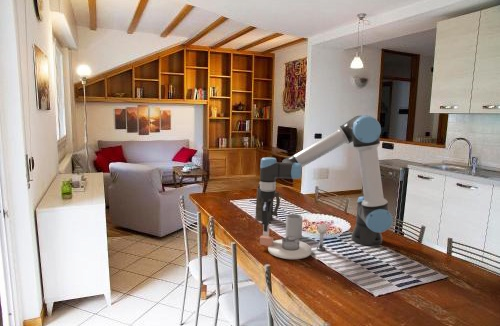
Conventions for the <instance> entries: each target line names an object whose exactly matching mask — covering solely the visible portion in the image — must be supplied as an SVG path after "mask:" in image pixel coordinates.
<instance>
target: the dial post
mask: <svg viewBox="0 0 500 326" xmlns="http://www.w3.org/2000/svg"><path fill="white" fill-rule="evenodd" d="M316 228H317V232H318V233H319V245H318V246H317V247H316V250H317V252H318V251H319V252H325V251H326V247H325V246H324V235H325V234H326V232H327V231H328V227H327V225H325V224H323V223H320V224H319V225H318V226H317V227H316Z"/></svg>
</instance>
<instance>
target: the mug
mask: <svg viewBox="0 0 500 326" xmlns="http://www.w3.org/2000/svg"><path fill="white" fill-rule="evenodd" d="M284 236H285V237H287V236H294V237H295V238H297V239H299V240H300V239H302V236H303V216H302V215H301V214H296V213H289V214H287V215H286V217H285V235H284Z"/></svg>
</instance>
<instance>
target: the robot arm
mask: <svg viewBox="0 0 500 326" xmlns="http://www.w3.org/2000/svg"><path fill="white" fill-rule="evenodd" d="M381 133H382V127H381V124H380V122H379V120H377V119H376V118H374V117H373V116H371V115H357V116H353V118H350V119H349V120H348V121H347V122H345V123H343V124H342V125H339V126H338V128H337V130H336V131H333V132H332V133H330V134H329V135H327V136H324V137H323V138H321V139H320V140H318V141H316V142H315V143H314V142H313V144H310V145H309V146H307V147H306V148H304V149H302V150H299V152H296V153H295V154H293V155H291V156H289V157H287V158H284V159H283V160H281V161H282V162H278V161H277V158H276V157H270V156H269V157H268V156H267V157H262V158H260V165H259V167H260V169H259V182H258V184H259V186H260V189H261V190H260V194H259V197H260V198H262V199H264V200H263V202H262V206H263V207H262V221H261V225H262V236H269V237H270V224H271V223H272V222H271V221H270V217H271V205H272V201H271V199H273V200H274V199H276V197H275V193H276V190H277V189H276V186H277V185H276V184H277V182H276V181H277V180H276V179H291V180H299V179H301V178H302V174H303V173H302V169H303V167H305V166H307V165H309V164H311V163H312V162H314V161H316V160H317V159H320V158H321V157H323V156H325V155H326V154H329V153H330V152H332V151H334V150H336V149H337V148H339V147H341V146H343V145H345V144H346V145H347V144H350V143H352V145H353V148H354V149H355V150H356V151H357V154H358V155H357V157H358V163H359V170H360V177H361V185H362V192H363V193H362V194H363V196H359V197H358V198H357V202H356V205H357V206H356V219H355V226H354V227H353V230H352V232H351V237H350V238H351V241H353V242H354V243H356V244H360V245H362V246H363V245H364V246H369V247H370V246H372V247H373V246H375V247H376V246H379V245H382V244H383V236H382V233H384V232H386V231H388V230H389V229H390V228H391V227H392V225H393V221H394V220H393V218H394V217H393V216H392V213H391V212H390V211H389V209H390V208H389V202H388V199H386V198H384V192H383V191H384V190H383V182H382V176H381V168H380V160H379V153H378V146H379V145H381V140H380V135H381Z"/></svg>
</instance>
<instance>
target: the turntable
mask: <svg viewBox="0 0 500 326" xmlns="http://www.w3.org/2000/svg"><path fill="white" fill-rule="evenodd" d="M259 245H260V246H261V245H262V246H267V250H268V253H269V254H271V255H272V256H275V257H277V258H281V259H285V260H300V259H305V258H308V257H310V256H311V254H312V247H311V246H310V245H309V244H307V243H306V242H304V241H300V242H299V249H298V250H295V251H289V250H285V249H283V248H282V239H276V240H274V236H270V235H269V236H263V235H260V237H259Z"/></svg>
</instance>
